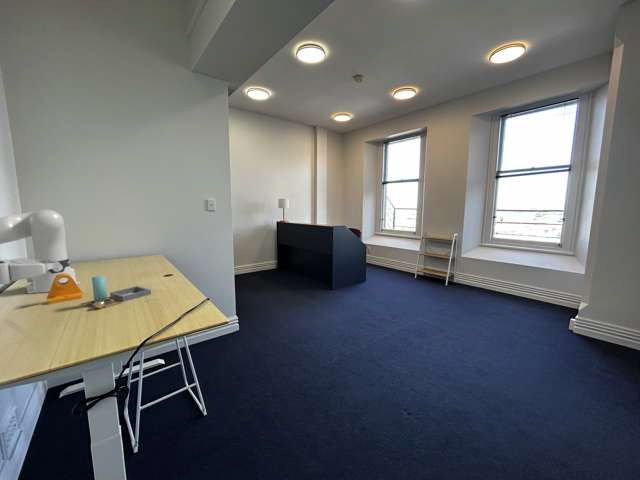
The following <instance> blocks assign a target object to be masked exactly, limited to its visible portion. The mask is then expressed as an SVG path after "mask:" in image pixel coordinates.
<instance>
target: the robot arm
mask: <svg viewBox="0 0 640 480" xmlns="http://www.w3.org/2000/svg"><path fill="white" fill-rule="evenodd" d="M30 237H31V239H32V247H33V254H34V259H30V258H26V257H22V258H21V257H20V258H19V257H18V258H12V259H8V258H7V259H2V258H1V257H0V285H1V286H3V285H9V284H11V282H15V281H16V282H17V281H22V280H25V279H26V282H27V283H30V284H28V285H26V286H25V289H26V293H27V294H37V293H40V294H41V293H49V291H50V288H51V286H52V283H53V281H54V278H55V277H56V276H57V275H58V274H61V273H67V274H69V275H70V276H71V277H72V278H73V280H74V281H75V283H76V284H77V285H79V284H81V282H80V281H78V280H77V279H76V273H75V269H74V268H72V267H70V265H71V264H70V259H69V258H68V251H67V242H66V241H67V240H66V228H65V220H64V217H63V215H61V214H60V213H59V212H57V211H55V210H52V209H39V210H34V211H30V212H29V211H28V212H24V213H18V214H13V215H7V216H2V217H0V245H3V244H7V243H11V242H15V241H19V240H23V239H26V238H30ZM67 281H68V279H67V278H61V279H59V282H60V283H65V282H67Z"/></svg>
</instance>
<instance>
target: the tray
mask: <svg viewBox="0 0 640 480" xmlns="http://www.w3.org/2000/svg"><path fill="white" fill-rule="evenodd" d="M151 294H152V290H151V289H150V288H145V287H143V286H139V285H136V286H133V287H127V288H124V289H119V290H115V291H111V292H109V298H110V299H113V300H116V301H117V300H118V301H119V302H122V303H124V302H127V301H131V300H135V299H138V298H142V297H145V296H149V295H151Z"/></svg>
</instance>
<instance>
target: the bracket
mask: <svg viewBox="0 0 640 480" xmlns="http://www.w3.org/2000/svg"><path fill="white" fill-rule="evenodd" d="M61 278H67V279H68V281H67V282H65V283H60V282H59V279H61ZM47 293H48V294H47V296H46V304H47V305H54V304H60V303H65V302H70V301H77V300H82V299H83V298H84V294H83V292H82V290H81V288H80V287H79V284H76V283H75V281H74V280H73V278H72V277H71V276H70V275H69V274H67V273H61V274H58V275H57V276H56V277H55V278H54V281H53V283H52V286H51V288H50V291H49V292H47Z"/></svg>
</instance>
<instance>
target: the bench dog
mask: <svg viewBox="0 0 640 480" xmlns="http://www.w3.org/2000/svg"><path fill="white" fill-rule="evenodd" d="M94 305H95V309H96V311H99V310H98V309H100V310H102V309H106V308H105V302H104V301H97V302H94Z"/></svg>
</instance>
